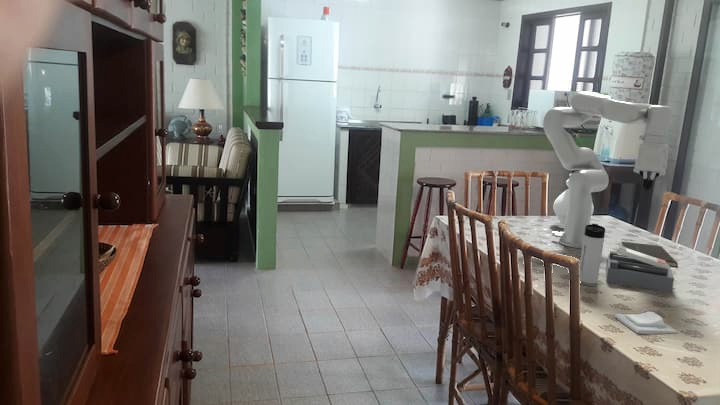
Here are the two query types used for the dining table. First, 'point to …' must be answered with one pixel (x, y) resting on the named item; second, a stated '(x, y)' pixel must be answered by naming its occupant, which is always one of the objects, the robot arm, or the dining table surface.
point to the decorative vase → (563, 207)
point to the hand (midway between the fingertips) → (646, 189)
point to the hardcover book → (651, 251)
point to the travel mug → (591, 254)
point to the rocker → (641, 256)
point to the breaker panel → (638, 273)
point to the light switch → (645, 323)
